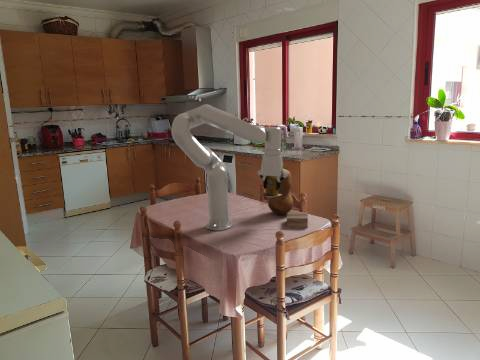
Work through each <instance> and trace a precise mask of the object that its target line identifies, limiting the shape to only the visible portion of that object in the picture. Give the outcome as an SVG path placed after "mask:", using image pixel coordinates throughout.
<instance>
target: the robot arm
mask: <svg viewBox="0 0 480 360" xmlns="http://www.w3.org/2000/svg"><path fill="white" fill-rule="evenodd" d="M203 124H206V125H208V126H211V127H214V128H216V129H218V130H221V131H224V132H225V133H226V132H227V133H228V134H231V135H233V136H235V137H239V138H241V139H244V140H246V141H248V142H251V143H254V144H257V145H260V144H262V143H264V149H262V153H264V155H262V158H261V159H262V160H261V165H260V167H261V168H260V169H259V170H258V171H257V173H256V174H257V175H258V176H259V177H260V179H262V187H263V190H264V189H265V190H266V183H267V176H272V177H277V180H278V182H277V190H279V189H280V188H281V181H282V180H283V179H284V178H285V177H287V176H288V174H287V173H286V172H285V171H284V170H283V169H284V161H283V160H284V159H283V156H282V155H281V149H282V148H281V147H282V142H281V141H282V129H281V127H279V126H260V125H255V124H252V123H249V122H247V121H245V120H244V119H243V120H242V119H241V118H239V117H238V116H236V115H234V114H232V113H230V112H227V111H224V110H222V109H219V108H217V107H215V106H213V105H210V104H207V103H206V104H202V105H200V106H197V107H195V108H192V109H191V110H187V111H185V112H183V113H180V114H177V116H175V117H174V120H172V124H171V129H170V130H171V131H170V132H171V136H172V139H173V141H174V143H175V144H176V146H178V148H179V149H180V150H182V152H183V153H184V154H185V155H186V156H187V157H188V158H189V159H190V160H191V161H192V163H193V164H194V165H195V166H196V167H199V168H202V169H203V171H205V173H206V181H207V195H208V196H207V197H208V212H209V213H208V215H209V217H208V218H209V219H208V220H209V221H208V222H207V224H206V225H205V227H206V229H209V230H212V231H226V230H229V229H230V228H232V227H233V223H232V222H231V221H229V219H230V218H229V215H230V213H229V196H228V189H229V188H228V171H227V170H228V169H227V165H226V164H225V163H224V162H223V161H222V160H221V159H220V158H219V157H218V156H217V154H215V152H214V151H213V150H212V149H211V148H209V147H208V146H206V145H203V144H202V143H200V142H199V141H198V140H197V138H196V137H195V136H193V134H192V133H191V130H192V129H195V128H196V127H199V126H202V125H203ZM281 175H284V176H283V177H281Z"/></svg>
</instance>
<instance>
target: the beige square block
mask: <svg viewBox="0 0 480 360" xmlns="http://www.w3.org/2000/svg"><path fill="white" fill-rule="evenodd" d="M308 219H309V218H308V212H307V211H306V212H305V211H303V212H302V211H299V212H298V211H292V212H291V211H290V212H288V213H287V214H286V228H295V229H298V228H299V229H308V228H309V225H308V222H309V221H308Z"/></svg>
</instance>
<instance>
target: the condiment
mask: <svg viewBox="0 0 480 360" xmlns="http://www.w3.org/2000/svg"><path fill="white" fill-rule="evenodd" d="M277 182H278V180H277V177H272V176H267V183H266V189H265V190H266V192H264V193H260V194H259V195H260V196H263V197H267V198H269V197H270V198H271V197H275V196H279V195H282V194H278V191H279V190H277Z"/></svg>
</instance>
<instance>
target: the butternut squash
mask: <svg viewBox="0 0 480 360" xmlns="http://www.w3.org/2000/svg"><path fill="white" fill-rule="evenodd" d="M283 170H284V171H285V172H286V173H287V174H288V176H287V177H285V178H284V179H283V180H282V181H281V188H280V189H279V191H278V194H282V195H279V196H275V197H271V198H270V197H267V206H268V208H269V210H270V211H271V212H272V213H274V214H277V216H284V215H287V213H288V212H291V210H292V209H293V207H294V200H293V196H292V193H291V188H292V175H291V172H290V171H289V170H288V169H285V168H283ZM283 176H284V175H281V177H283Z"/></svg>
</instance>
